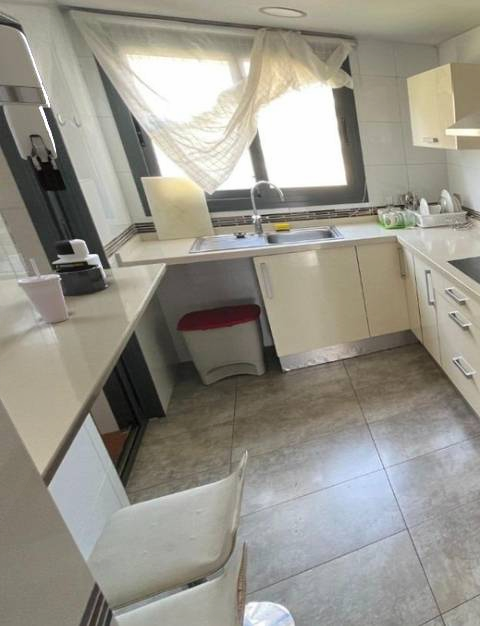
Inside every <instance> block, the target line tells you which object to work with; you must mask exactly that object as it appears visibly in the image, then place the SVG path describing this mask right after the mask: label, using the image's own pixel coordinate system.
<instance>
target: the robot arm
mask: <svg viewBox="0 0 480 626" xmlns="http://www.w3.org/2000/svg"><path fill="white" fill-rule="evenodd" d="M44 88H45V87H44V86H43V82H42V79H41V77H40V74H39V71H38V68H37V65H36V63H35V59H34V57H33V55H32V52H31V49H30V46H29V43H28V41H27V38H26V36H25V35H24V33H23V32H22V31H21V30H19V29H17V27H16V28H15V27H13V26H9V25H5V24H0V107H2V110H3V113H4V116H5V119H6V122H7V126H8V128H9V130H10V132H11V133H10V134H11V135H12V137H13V140H14V142H15V143H14V144H15V145H16V147H17V151H18V153H19V155H20V157H21V159H23V160H25V161H27V160H28V157H31V159H32V163H33V165H34V168H33V170H34V172H35V174H36V175H35V176H36V177H37V181H38V182H39V185H40V187H41V188H42V190H43V191H44V192H57V191H58V192H59V191H60V192H63V191H67V186H66V184H65V181H64V179H63V175H62V173H61V170H60V169H58V167H57V164H56V161H55V159H57V158H58V155H57V150H56V146H55V141H54V138H53V135H52V131H51V128H50V126H49V124H48V121H47V117H46V115H45V112H44V109H43V108H45V109H47V108H51V105H50V102H49V100H48V96H47V94H46V91H45V89H44Z"/></svg>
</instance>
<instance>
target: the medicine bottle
mask: <svg viewBox="0 0 480 626" xmlns="http://www.w3.org/2000/svg"><path fill="white" fill-rule="evenodd" d="M53 248H54V250H55V253H56V255H57V258H59V259H58V260H56V261H53V262H52V263H51V265H52V267H53V271H55V270H58V269H61V268H65V267H71V266H77V265H86V264H98V265H100V267H101V269H102V272H103V274H104V277H105V280H106V278H107V275H106V273H105V270H104V268H103V267H104V266H103V265H102V262H101V259H100V256H99V255H98V254H97V253H94V254H92V253H91V254H90V251H89V249H88V245H87V244H86V241H85V240H83V239H78V238H73V239H64V240H59V241H56V242H54V243H53Z"/></svg>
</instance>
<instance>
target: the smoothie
mask: <svg viewBox="0 0 480 626" xmlns="http://www.w3.org/2000/svg"><path fill="white" fill-rule="evenodd" d="M29 262H30V264H31V266H32V269H33V271H34V272H35V275H33V276H29V277H24V278H21V279H18V280H17V281H16V283H17V286H18V287H19V288H21V289H22V290H23V292H24V293H25V295H26V296H27V298H28V300H29V301H30V302H31V304H32V305H33V306H34V308H35V310H36V311H37V313H38V314H39V316H40V317H41V319H42V320H43V322H44V323H45V324H55V323H60V322H64V321H66V320H68V319H69V318H70V317H69V314H68V309H67V304H66V301H65V296H63V292H62V288H61V284H60V280H61V278H60V276H59V275H57V274H52V273H51V274H41V273H40V271H39V269H38V266H37V263H36V262H35V259H34V258H29Z"/></svg>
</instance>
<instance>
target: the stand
mask: <svg viewBox="0 0 480 626" xmlns="http://www.w3.org/2000/svg"><path fill="white" fill-rule="evenodd" d="M51 274H57V275H59V276H60V278H61V280H60V284H61V288H62V292H63V296H64V297H75V296H84V295H89V294H94V293H98V292H101V291H104V290H106V289H108V287H109V286H108V282H107V280H106V279H105V277H104V274H103V272H102V269H101V267H100V265H98V264H86V265H77V266H71V267H65V268H61V269H58V270H53V271H52V272H51Z"/></svg>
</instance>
